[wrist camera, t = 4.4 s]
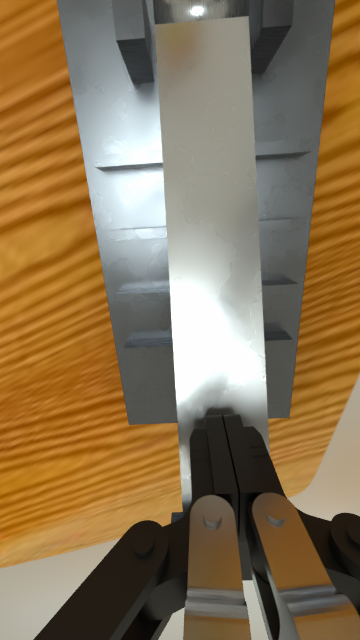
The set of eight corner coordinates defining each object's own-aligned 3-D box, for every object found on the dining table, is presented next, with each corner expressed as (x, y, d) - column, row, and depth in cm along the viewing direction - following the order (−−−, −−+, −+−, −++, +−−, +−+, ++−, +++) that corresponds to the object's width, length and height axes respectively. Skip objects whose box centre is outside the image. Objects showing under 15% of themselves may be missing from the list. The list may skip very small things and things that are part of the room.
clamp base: (320, -12, 15) (403, -148, 9) (281, 402, 25) (309, 456, 20) (69, 11, 15) (4, -106, 10) (132, 409, 26) (119, 464, 20)
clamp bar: (251, 14, 13) (267, -59, 10) (276, 529, 13) (296, 578, 11) (145, 23, 13) (135, -47, 10) (175, 532, 13) (172, 582, 11)
